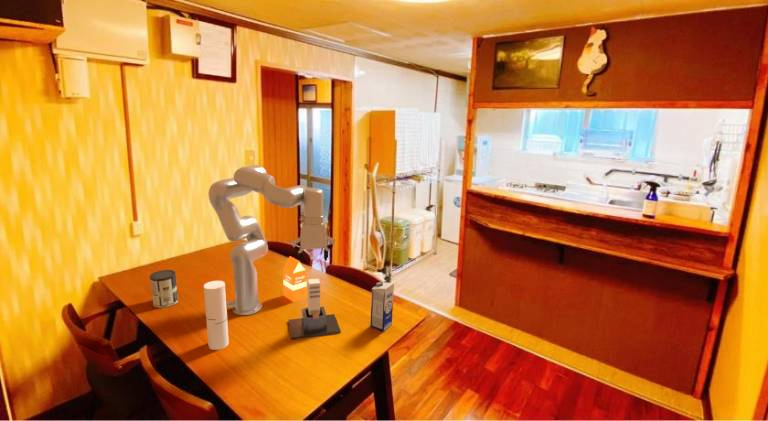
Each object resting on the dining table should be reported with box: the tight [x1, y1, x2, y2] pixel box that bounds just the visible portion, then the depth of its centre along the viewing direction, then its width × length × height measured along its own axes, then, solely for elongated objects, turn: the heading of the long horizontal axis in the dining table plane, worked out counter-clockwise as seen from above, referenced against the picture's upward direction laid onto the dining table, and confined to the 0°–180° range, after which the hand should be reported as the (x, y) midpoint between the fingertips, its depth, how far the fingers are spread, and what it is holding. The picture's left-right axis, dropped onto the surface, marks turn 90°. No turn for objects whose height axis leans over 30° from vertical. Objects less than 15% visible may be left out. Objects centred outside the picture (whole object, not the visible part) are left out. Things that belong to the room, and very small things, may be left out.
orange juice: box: [282, 255, 308, 303], centre depth 184 cm, size 8×9×20 cm
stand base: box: [288, 306, 342, 341], centre depth 159 cm, size 20×14×9 cm
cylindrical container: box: [203, 280, 230, 351], centre depth 143 cm, size 7×7×25 cm
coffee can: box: [149, 269, 179, 309], centre depth 173 cm, size 10×10×14 cm
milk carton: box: [369, 281, 395, 333], centre depth 161 cm, size 7×7×20 cm
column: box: [307, 278, 321, 315], centre depth 156 cm, size 4×5×14 cm
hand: (313, 260), depth 153 cm, fingers open, 9 cm apart
